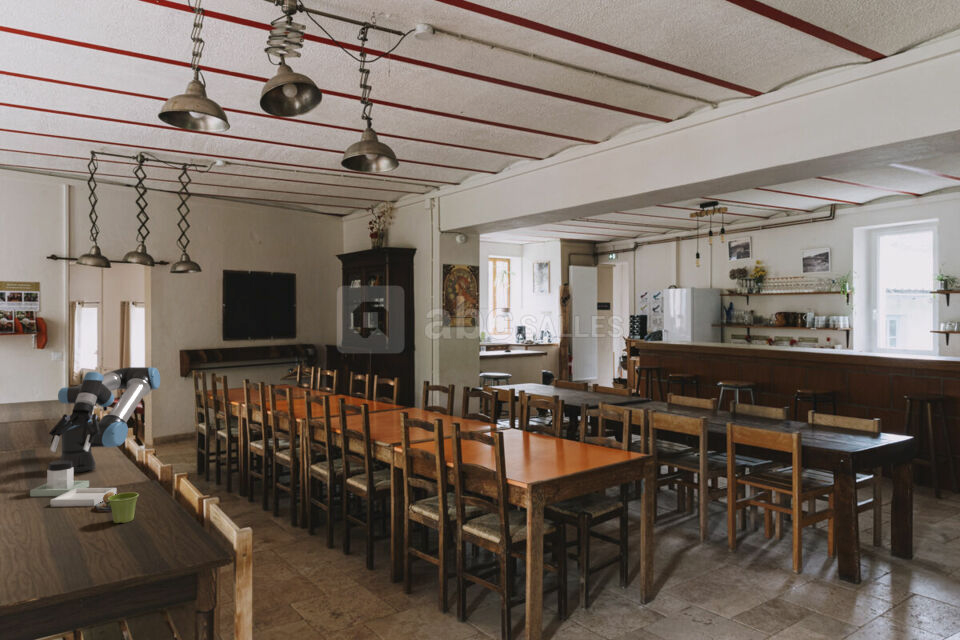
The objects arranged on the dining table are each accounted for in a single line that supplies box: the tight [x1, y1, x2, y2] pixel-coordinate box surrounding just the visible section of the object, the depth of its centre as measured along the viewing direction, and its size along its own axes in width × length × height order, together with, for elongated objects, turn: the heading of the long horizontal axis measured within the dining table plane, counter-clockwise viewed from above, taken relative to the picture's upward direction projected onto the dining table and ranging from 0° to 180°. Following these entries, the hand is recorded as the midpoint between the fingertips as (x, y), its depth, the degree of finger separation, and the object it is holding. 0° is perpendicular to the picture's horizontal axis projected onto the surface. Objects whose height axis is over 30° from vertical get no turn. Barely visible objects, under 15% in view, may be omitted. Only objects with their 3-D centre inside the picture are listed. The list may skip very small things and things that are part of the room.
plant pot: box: [108, 492, 140, 524], centre depth 219 cm, size 9×9×9 cm
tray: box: [50, 487, 118, 507], centre depth 243 cm, size 16×16×2 cm
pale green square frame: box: [29, 480, 90, 497], centre depth 255 cm, size 14×15×2 cm
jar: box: [46, 459, 75, 489], centre depth 255 cm, size 9×8×12 cm
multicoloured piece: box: [94, 492, 114, 513], centre depth 234 cm, size 12×12×8 cm
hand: (69, 450), depth 264 cm, fingers open, 13 cm apart
